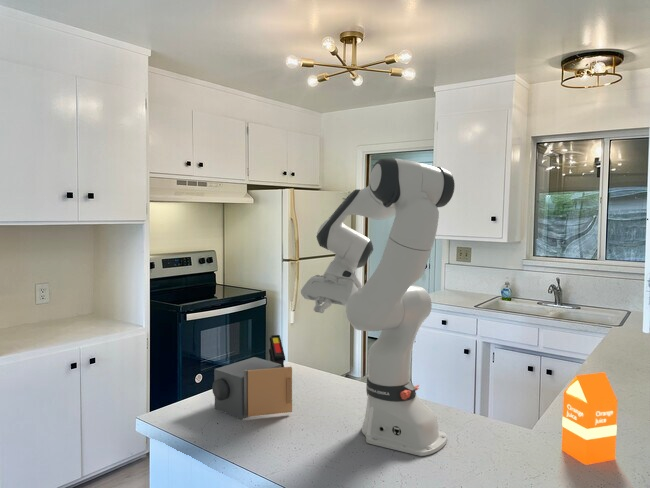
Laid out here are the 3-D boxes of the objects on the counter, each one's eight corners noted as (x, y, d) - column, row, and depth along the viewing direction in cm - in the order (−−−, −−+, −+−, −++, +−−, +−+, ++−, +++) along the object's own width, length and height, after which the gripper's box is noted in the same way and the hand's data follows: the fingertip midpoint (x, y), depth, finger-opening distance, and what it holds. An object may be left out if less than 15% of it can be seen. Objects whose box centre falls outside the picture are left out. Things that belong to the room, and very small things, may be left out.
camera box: (282, 402, 152) (282, 364, 151) (238, 421, 139) (237, 379, 138) (254, 393, 160) (254, 356, 159) (210, 410, 146) (209, 370, 146)
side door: (292, 413, 142) (292, 368, 141) (244, 418, 139) (244, 372, 138) (291, 409, 144) (290, 366, 144) (244, 415, 141) (243, 370, 140)
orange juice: (615, 459, 118) (619, 377, 116) (585, 465, 115) (588, 380, 114) (589, 445, 125) (592, 367, 124) (560, 449, 123) (563, 370, 121)
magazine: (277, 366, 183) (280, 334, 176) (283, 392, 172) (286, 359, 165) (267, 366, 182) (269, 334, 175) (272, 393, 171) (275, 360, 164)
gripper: (309, 268, 168) (289, 301, 161) (358, 274, 155) (338, 310, 148) (317, 280, 172) (298, 312, 165) (366, 286, 159) (347, 322, 152)
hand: (317, 311), depth 156 cm, fingers closed
